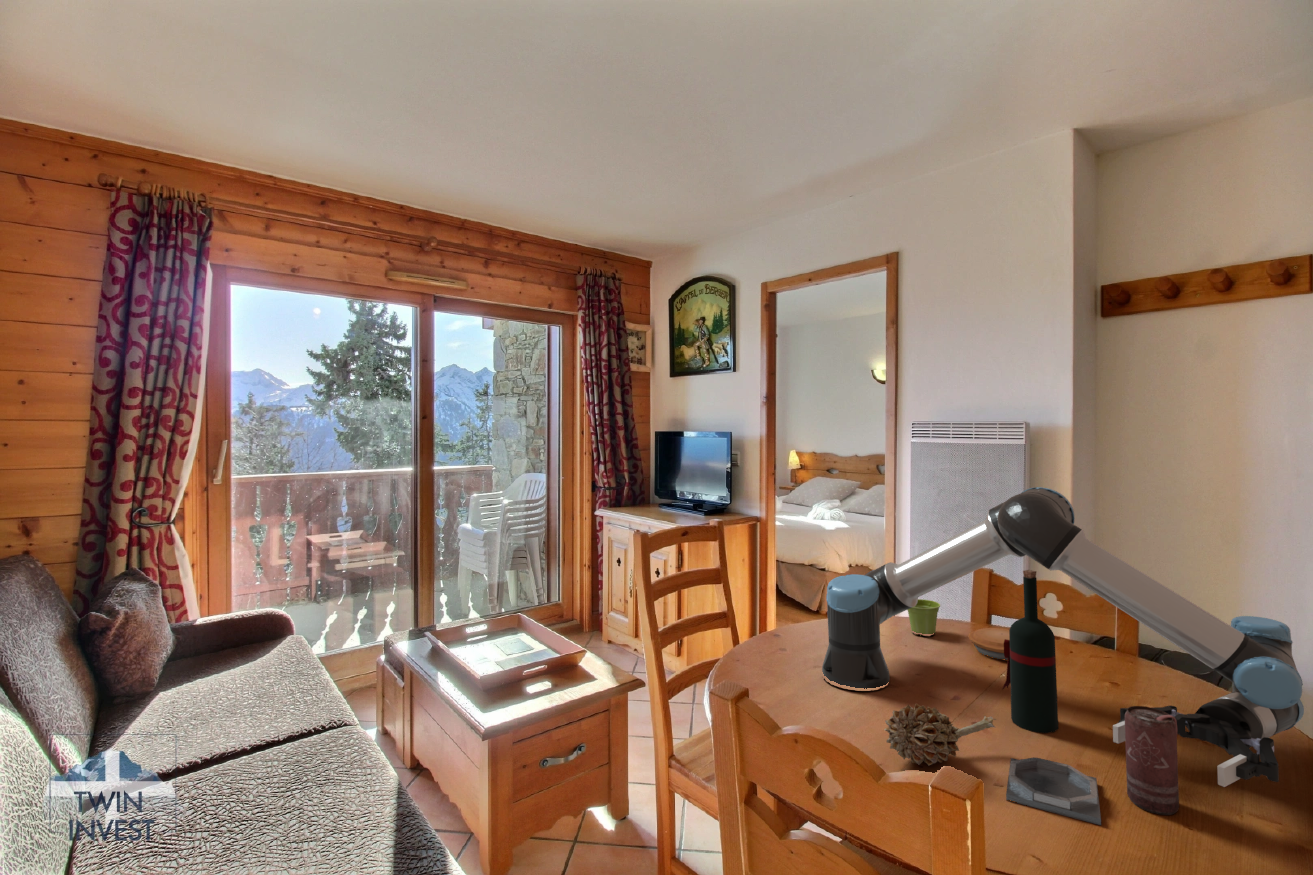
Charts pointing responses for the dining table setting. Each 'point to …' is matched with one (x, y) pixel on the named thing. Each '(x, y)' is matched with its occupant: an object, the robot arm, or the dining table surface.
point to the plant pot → (924, 616)
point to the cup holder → (1054, 788)
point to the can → (1152, 760)
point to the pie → (990, 641)
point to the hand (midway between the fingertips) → (1164, 754)
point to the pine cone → (927, 734)
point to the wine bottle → (1032, 666)
